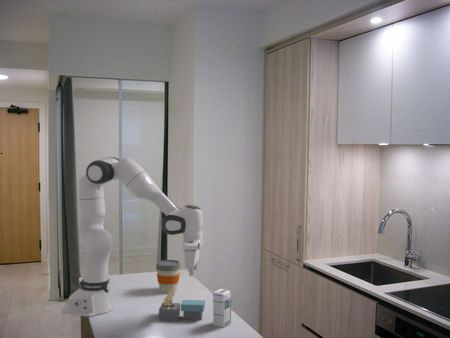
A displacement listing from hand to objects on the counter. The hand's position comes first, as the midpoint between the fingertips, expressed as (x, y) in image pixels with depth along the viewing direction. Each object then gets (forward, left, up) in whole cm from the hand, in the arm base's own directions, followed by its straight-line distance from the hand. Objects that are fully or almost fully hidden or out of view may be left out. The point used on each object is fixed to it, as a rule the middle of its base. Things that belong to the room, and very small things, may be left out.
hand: (193, 272), depth 202 cm
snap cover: (0, 0, -17) cm, 17 cm away
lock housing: (-6, 0, -21) cm, 21 cm away
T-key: (-11, 0, -21) cm, 23 cm away
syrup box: (+13, -6, -21) cm, 25 cm away
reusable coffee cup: (-19, +36, -21) cm, 45 cm away
